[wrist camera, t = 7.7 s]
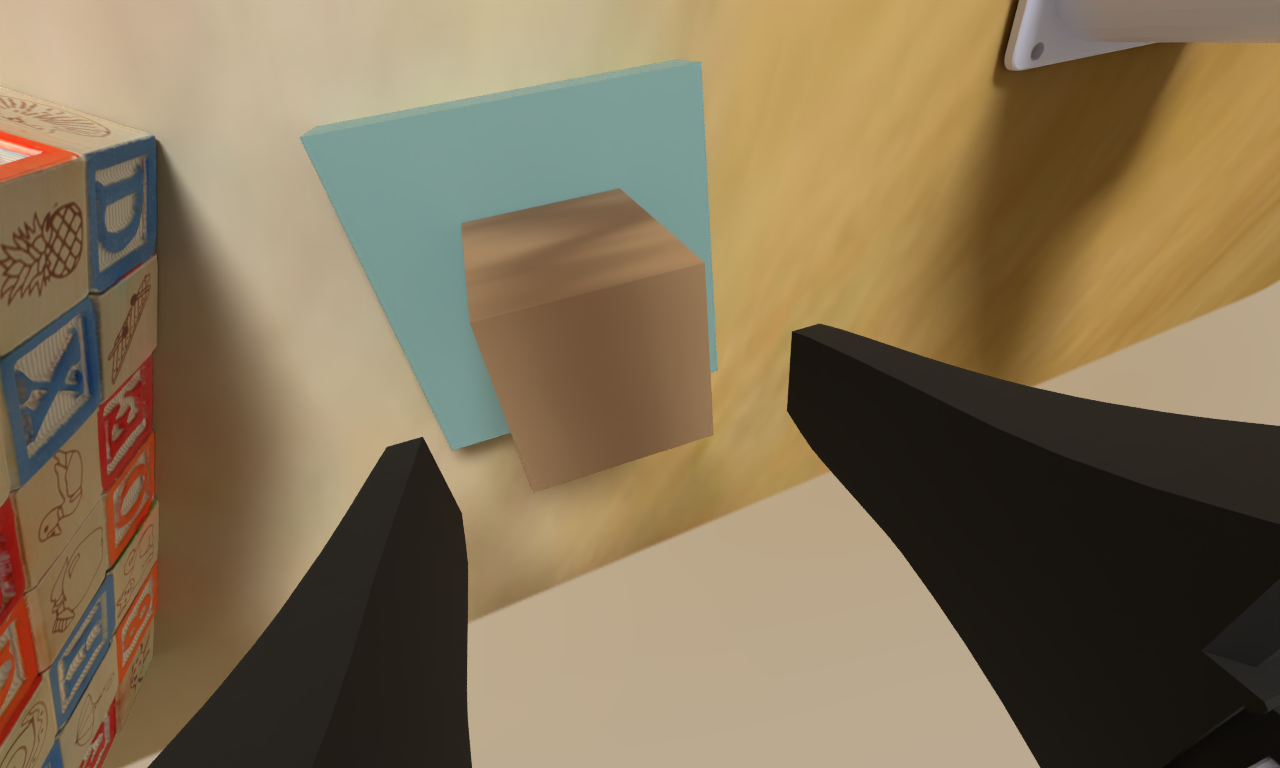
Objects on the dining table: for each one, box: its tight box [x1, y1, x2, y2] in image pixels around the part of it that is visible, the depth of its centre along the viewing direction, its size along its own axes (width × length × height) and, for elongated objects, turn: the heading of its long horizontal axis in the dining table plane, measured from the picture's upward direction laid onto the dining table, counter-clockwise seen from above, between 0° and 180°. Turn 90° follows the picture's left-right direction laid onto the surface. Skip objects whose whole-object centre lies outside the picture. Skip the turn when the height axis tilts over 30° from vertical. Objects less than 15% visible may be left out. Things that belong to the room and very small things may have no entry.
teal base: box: [300, 60, 717, 451], centre depth 16 cm, size 10×10×2 cm
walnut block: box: [461, 188, 713, 492], centre depth 13 cm, size 4×4×6 cm
